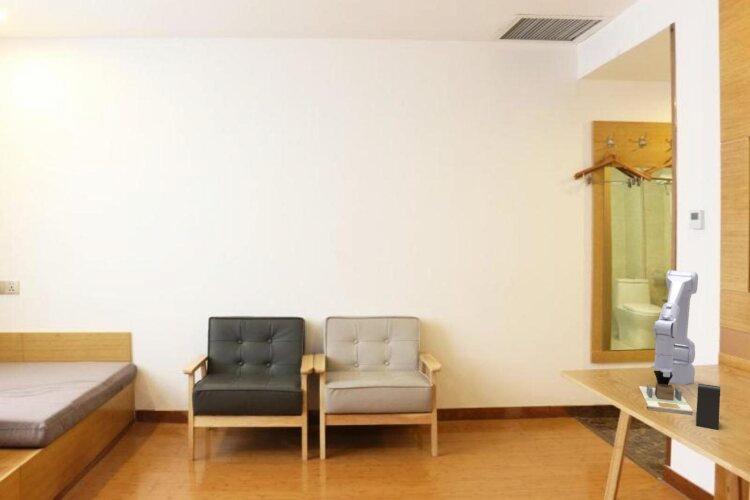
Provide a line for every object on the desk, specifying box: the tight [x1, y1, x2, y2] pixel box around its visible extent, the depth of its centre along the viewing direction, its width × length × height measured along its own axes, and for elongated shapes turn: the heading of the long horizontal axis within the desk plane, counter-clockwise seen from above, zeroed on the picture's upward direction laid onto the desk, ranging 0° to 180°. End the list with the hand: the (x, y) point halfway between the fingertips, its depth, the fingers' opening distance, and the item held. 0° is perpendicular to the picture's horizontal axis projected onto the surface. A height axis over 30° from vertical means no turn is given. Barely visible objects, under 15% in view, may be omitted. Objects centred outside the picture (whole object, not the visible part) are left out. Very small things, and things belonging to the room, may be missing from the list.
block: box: [654, 382, 675, 400], centre depth 199 cm, size 5×5×4 cm
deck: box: [638, 384, 694, 416], centre depth 199 cm, size 24×13×4 cm, turn 162°
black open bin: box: [695, 383, 721, 430], centre depth 178 cm, size 9×6×12 cm, turn 150°
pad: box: [644, 398, 689, 405], centre depth 195 cm, size 4×13×2 cm, turn 72°
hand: (662, 392), depth 203 cm, fingers closed
